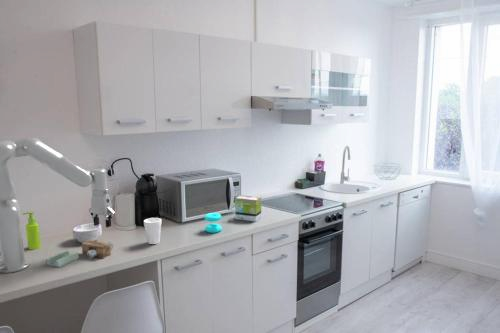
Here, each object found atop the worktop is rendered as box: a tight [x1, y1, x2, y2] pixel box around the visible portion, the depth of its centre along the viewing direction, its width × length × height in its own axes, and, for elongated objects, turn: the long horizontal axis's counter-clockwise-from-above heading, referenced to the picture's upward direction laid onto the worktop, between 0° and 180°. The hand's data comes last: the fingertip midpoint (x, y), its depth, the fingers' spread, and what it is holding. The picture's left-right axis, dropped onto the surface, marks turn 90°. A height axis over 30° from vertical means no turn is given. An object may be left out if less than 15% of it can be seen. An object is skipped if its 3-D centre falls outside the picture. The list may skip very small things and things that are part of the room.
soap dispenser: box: [22, 211, 41, 251], centre depth 213 cm, size 6×7×20 cm
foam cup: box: [143, 217, 163, 245], centre depth 218 cm, size 10×9×13 cm
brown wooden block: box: [81, 240, 112, 259], centre depth 203 cm, size 5×14×6 cm, turn 67°
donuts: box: [204, 212, 223, 234], centre depth 238 cm, size 10×10×10 cm
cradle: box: [45, 250, 80, 268], centre depth 195 cm, size 12×9×3 cm
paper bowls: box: [72, 222, 103, 244], centre depth 225 cm, size 15×15×8 cm
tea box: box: [234, 194, 262, 223], centre depth 261 cm, size 15×10×15 cm, turn 67°
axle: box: [86, 241, 114, 259], centre depth 205 cm, size 14×4×4 cm, turn 155°
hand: (102, 225), depth 206 cm, fingers open, 7 cm apart
